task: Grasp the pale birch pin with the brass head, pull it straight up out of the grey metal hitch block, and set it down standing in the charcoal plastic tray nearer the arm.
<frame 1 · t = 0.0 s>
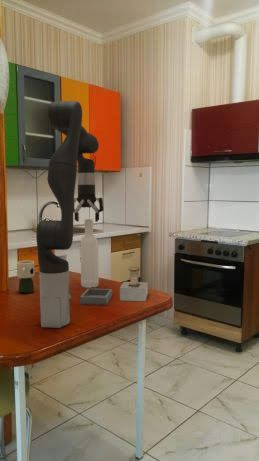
hand: (87, 221, 162), 29 cm above the table, tool pointing down, fingers open, 8 cm apart
pin: (134, 282, 149), in the hitch block
bottle: (89, 286, 168), on the table
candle: (59, 288, 164), on the table
hitch block: (134, 297, 150), on the table
flask: (62, 299, 147), on the table
character mug: (26, 292, 158), on the table
tray: (96, 300, 146), on the table
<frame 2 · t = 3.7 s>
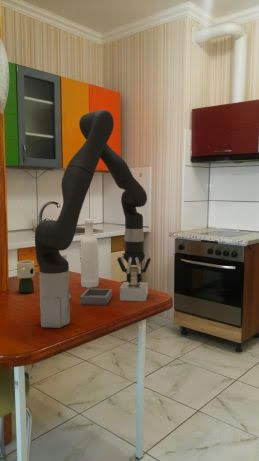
hand: (134, 282, 149), 6 cm above the table, tool pointing down, fingers closed on pin, 3 cm apart
pin: (134, 282, 149), in the hitch block, touching gripper
everything else where it was.
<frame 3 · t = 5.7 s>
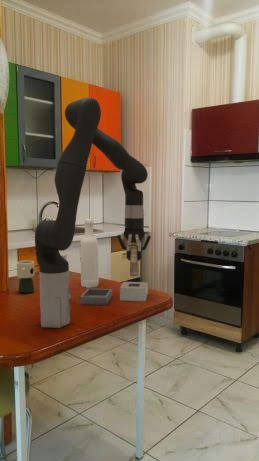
hand: (134, 260, 148), 15 cm above the table, tool pointing down, fingers closed on pin, 3 cm apart
pin: (134, 260, 148), point 15 cm above the table, touching gripper
everything else where it was.
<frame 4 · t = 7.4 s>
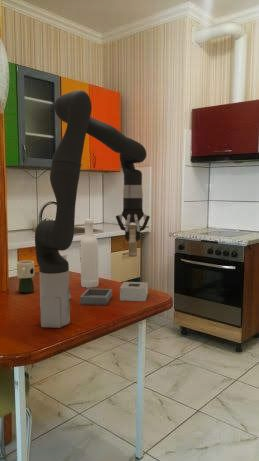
hand: (132, 240, 147), 23 cm above the table, tool pointing down, fingers closed on pin, 3 cm apart
pin: (132, 241, 147), point 23 cm above the table, touching gripper
everything else where it was.
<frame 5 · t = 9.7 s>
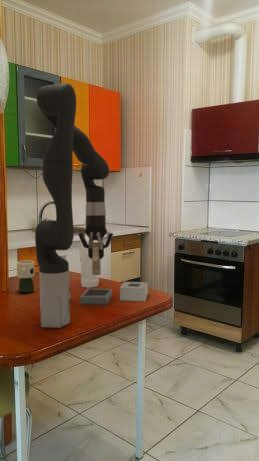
hand: (96, 258, 144), 17 cm above the table, tool pointing down, fingers closed on pin, 3 cm apart
pin: (96, 258, 144), point 16 cm above the table, touching gripper
everything else where it was.
when the fingers open (8 cm above the table, at t = 11.5 s): pin drops 1 cm, resting on tray.
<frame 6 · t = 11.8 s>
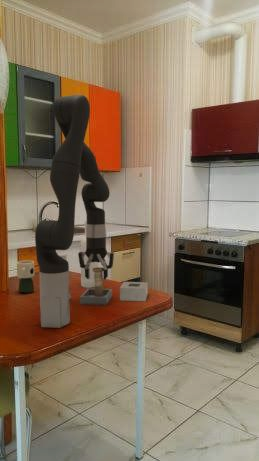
hand: (96, 278, 145), 9 cm above the table, tool pointing down, fingers open, 6 cm apart
pin: (98, 283, 145), in the tray, point 7 cm above the table, touching gripper
everything else where it was.
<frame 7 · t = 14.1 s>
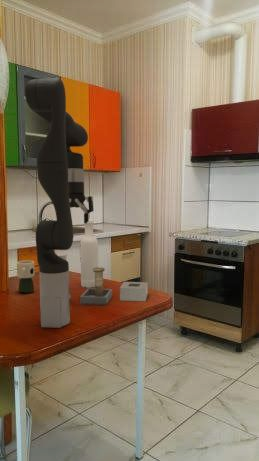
hand: (75, 223, 145), 30 cm above the table, tool pointing down, fingers open, 8 cm apart
pin: (98, 283, 145), in the tray, point 7 cm above the table
everything else where it was.
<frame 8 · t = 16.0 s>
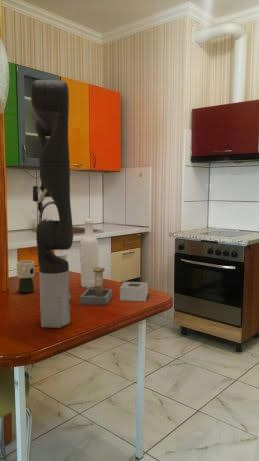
hand: (51, 212, 146), 34 cm above the table, tool pointing down, fingers open, 8 cm apart
nothing on the table moved.
at the end: pin inside the target area on the tray (0.9 cm from its centre), point 6.6 cm above the tray's base; the gripper is holding nothing; pin touching tray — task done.
